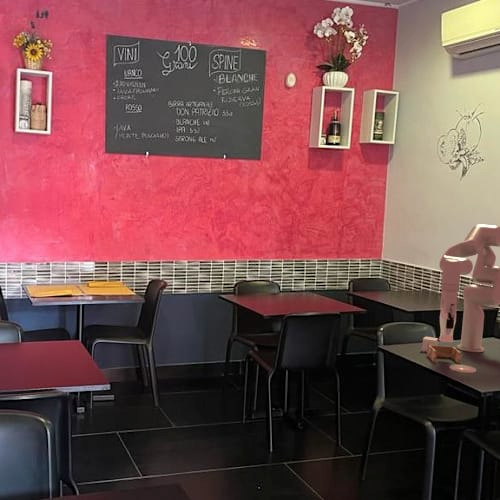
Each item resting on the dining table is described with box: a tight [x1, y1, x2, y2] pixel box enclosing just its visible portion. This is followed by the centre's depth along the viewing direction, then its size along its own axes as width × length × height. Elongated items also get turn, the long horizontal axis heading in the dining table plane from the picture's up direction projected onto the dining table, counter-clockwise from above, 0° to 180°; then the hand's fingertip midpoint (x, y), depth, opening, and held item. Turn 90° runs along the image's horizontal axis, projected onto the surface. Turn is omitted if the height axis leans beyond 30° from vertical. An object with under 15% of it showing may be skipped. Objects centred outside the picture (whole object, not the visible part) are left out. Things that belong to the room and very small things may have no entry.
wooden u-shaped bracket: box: [426, 345, 462, 365], centre depth 307 cm, size 12×12×5 cm
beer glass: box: [438, 307, 457, 344], centre depth 306 cm, size 7×7×15 cm
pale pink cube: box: [421, 336, 439, 353], centre depth 322 cm, size 6×6×6 cm
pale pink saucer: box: [448, 364, 477, 374], centre depth 292 cm, size 11×11×1 cm
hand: (447, 326), depth 306 cm, fingers closed on beer glass, 6 cm apart
